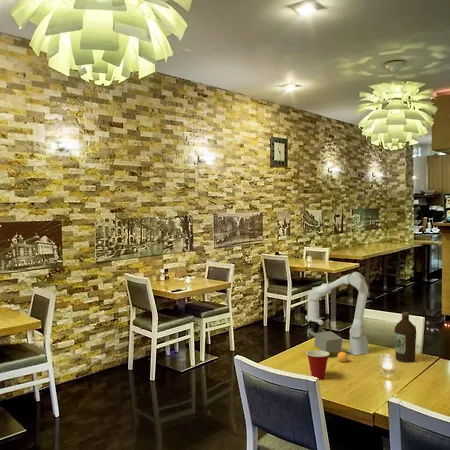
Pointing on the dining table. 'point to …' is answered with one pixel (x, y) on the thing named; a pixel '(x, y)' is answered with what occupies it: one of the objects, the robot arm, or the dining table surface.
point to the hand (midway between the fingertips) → (314, 334)
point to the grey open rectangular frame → (326, 340)
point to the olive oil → (405, 339)
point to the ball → (342, 356)
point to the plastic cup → (318, 363)
